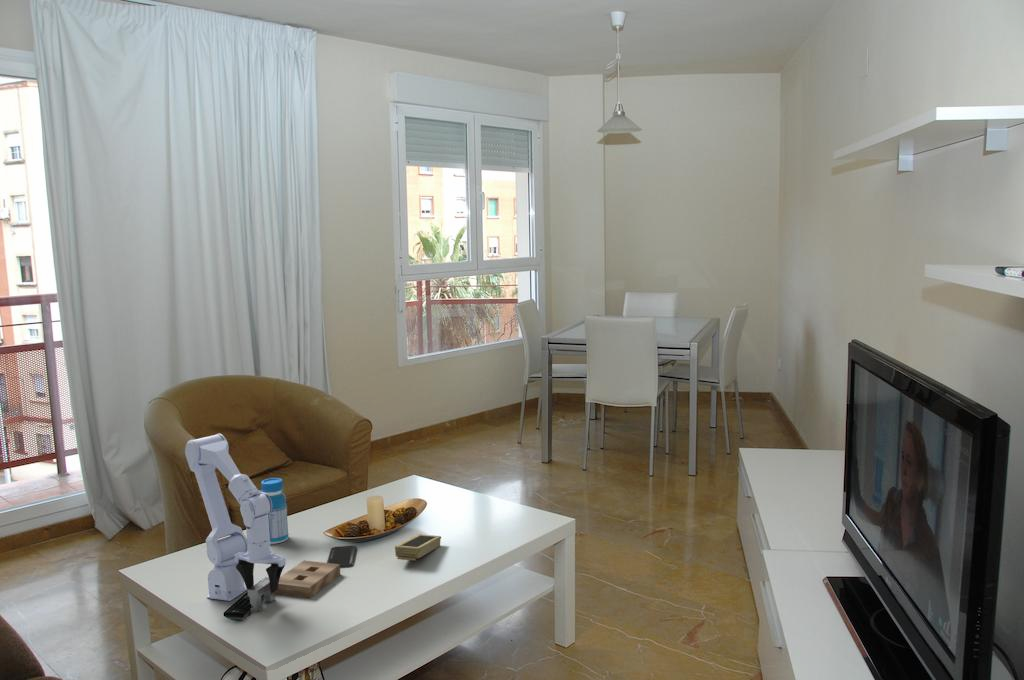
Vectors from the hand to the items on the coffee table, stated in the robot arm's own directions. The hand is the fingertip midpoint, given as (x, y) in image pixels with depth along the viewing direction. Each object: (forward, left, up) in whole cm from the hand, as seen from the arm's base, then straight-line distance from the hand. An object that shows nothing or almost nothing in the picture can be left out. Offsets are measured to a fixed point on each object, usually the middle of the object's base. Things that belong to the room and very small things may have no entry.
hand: (262, 589), depth 211 cm
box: (+43, -26, -5) cm, 51 cm away
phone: (+34, -4, -5) cm, 35 cm away
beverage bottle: (+42, +25, -5) cm, 49 cm away
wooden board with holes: (+15, -4, -5) cm, 16 cm away
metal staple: (0, 0, -5) cm, 5 cm away
